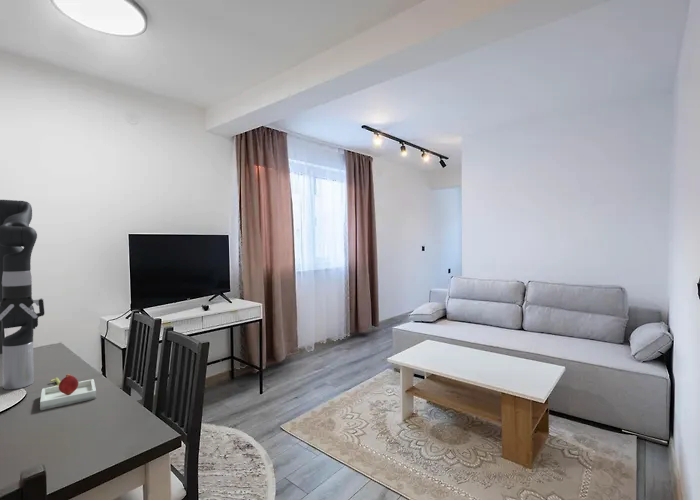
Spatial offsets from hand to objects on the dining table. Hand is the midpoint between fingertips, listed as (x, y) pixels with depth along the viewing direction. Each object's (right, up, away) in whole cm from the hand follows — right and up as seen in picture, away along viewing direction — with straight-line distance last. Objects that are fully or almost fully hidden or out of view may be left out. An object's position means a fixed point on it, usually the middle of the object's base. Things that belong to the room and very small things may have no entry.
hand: (17, 330), depth 125 cm
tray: (+9, -28, +11) cm, 31 cm away
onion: (+9, -27, +11) cm, 31 cm away
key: (-3, -28, +22) cm, 36 cm away
